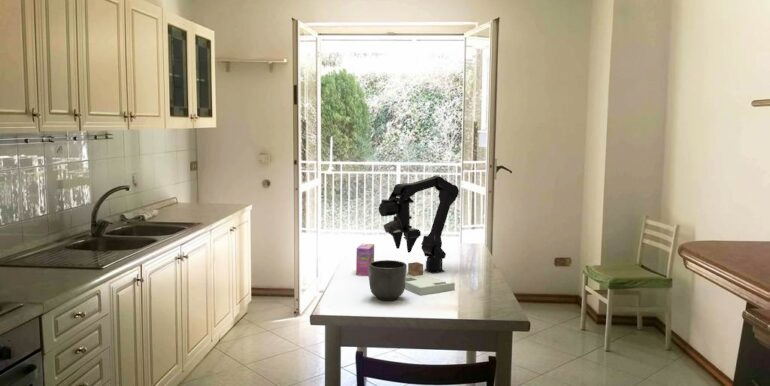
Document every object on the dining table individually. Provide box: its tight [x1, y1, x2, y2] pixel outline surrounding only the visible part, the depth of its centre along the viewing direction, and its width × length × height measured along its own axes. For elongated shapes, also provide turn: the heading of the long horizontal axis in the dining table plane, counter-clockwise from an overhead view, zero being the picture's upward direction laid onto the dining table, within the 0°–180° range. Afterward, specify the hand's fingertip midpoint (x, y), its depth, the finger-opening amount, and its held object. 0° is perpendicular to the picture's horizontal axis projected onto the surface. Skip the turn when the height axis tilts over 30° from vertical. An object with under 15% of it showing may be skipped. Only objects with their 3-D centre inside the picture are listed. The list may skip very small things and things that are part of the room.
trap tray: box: [405, 272, 456, 296], centre depth 246 cm, size 16×25×3 cm, turn 30°
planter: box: [368, 259, 408, 302], centre depth 226 cm, size 14×14×13 cm
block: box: [407, 261, 424, 276], centre depth 256 cm, size 4×4×4 cm
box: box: [355, 243, 375, 277], centre depth 266 cm, size 10×6×12 cm, turn 168°
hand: (403, 250), depth 260 cm, fingers open, 9 cm apart
